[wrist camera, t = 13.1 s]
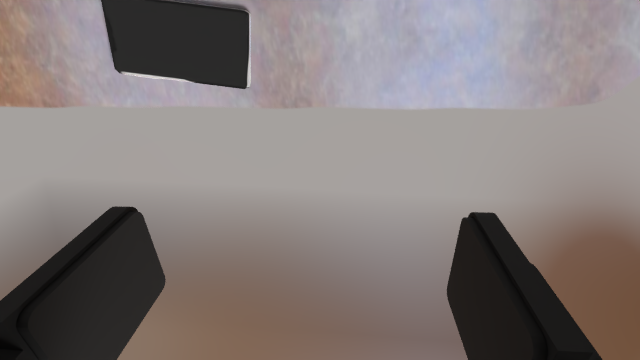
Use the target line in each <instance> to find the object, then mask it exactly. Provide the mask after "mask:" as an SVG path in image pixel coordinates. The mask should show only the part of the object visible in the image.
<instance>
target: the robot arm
mask: <svg viewBox="0 0 640 360" xmlns="http://www.w3.org/2000/svg"><path fill="white" fill-rule="evenodd" d="M164 285H165V275H164V273H163V270H162V267H161V265H160V262H159V259H158V256H157V253H156V251H155V248H154V245H153V242H152V239H151V236H150V234H149V232H148V228H147V225H146V223H145V220H144V217H143V215H142V214H141V213H140V212H138V211H137V209H136V208H134V207H112V208H110V209H109V210H107V211H106V212H105V213H104V214H103V215H101V216H100V217H99V218H98V219H97V220H95V221H94V222H93V223H92V224H91V225H90V226H88V227H87V228H86V229H85V230H84V231H83V232H81V233H80V234H79V235H78V236H77V237H75V238H74V239H73V240H72V241H71V242H69V243H68V244H67V245H66V246H65V247H64V248H62V249H61V250H60V251H59V252H58V253H56V254H55V255H54V256H53V257H52V258H51V259H49V260H48V261H47V262H46V263H44V264H43V265H42V266H41V267H40V268H39V269H38V270H36V271H35V272H34V273H33V274H31V275H30V276H29V277H28V278H27V279H26V280H24V281H23V282H22V283H21V284H20V285H18V286H17V287H16V288H15V289H14V290H13V291H11V292H10V293H9V294H8V295H7V296H5V297H4V298H3V299H2V300H1V301H0V360H117V358H118V357H119V355H120V354H121V352H122V351H123V349H124V348H125V346H126V345H127V343H128V342H129V340H130V339H131V337H132V336H133V334H134V333H135V331H136V329H137V328H138V326H139V325H140V323H141V322H142V320H143V319H144V317H145V316H146V314H147V313H148V311H149V309H150V308H151V307H152V305H153V303H154V302H155V300H156V299H157V298H158V296H159V295H160V293H161V292H162V290H163V288H164ZM447 297H448V301H449V304H450V307H451V310H452V313H453V316H454V319H455V322H456V325H457V328H458V331H459V334H460V337H461V340H462V342H463V346H464V349H465V351H466V355H467V358H468V360H602V358H601V357H600V356H599V354H598V353H597V351H596V350H595V349H594V347H593V346H592V345H591V343H590V342H589V340H588V339H587V338H586V336H585V335H584V333H583V332H582V331H581V329H580V328H579V326H578V325H577V324H576V322H575V321H574V319H573V318H572V317H571V315H570V314H569V312H568V311H567V310H566V308H565V307H564V305H563V304H562V303H561V301H560V300H559V298H558V297H557V296H556V294H555V293H554V292H553V290H552V289H551V287H550V286H549V285H548V283H547V282H546V280H545V279H544V278H543V276H542V275H541V273H540V272H539V271H538V269H537V268H536V267H535V266H534V265H533V264H531V263H530V262H529V261H528V259H527V258H526V257H525V255H524V254H523V252H522V251H521V250H520V248H519V247H518V245H517V244H516V242H515V241H514V240H513V238H512V237H511V235H510V234H509V232H508V231H507V230H506V228H505V227H504V226H503V224H502V223H501V221H500V220H499V218H498V217H497V215H496V214H494V213H478V212H472V213H470V215H469V216H468V218H463V219H462V221H461V225H460V230H459V235H458V239H457V244H456V249H455V253H454V258H453V263H452V267H451V272H450V276H449V281H448V286H447Z"/></svg>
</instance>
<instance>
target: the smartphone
mask: <svg viewBox="0 0 640 360" xmlns="http://www.w3.org/2000/svg"><path fill="white" fill-rule="evenodd" d="M101 2H102V7H103V12H104V17H105V22H106V27H107V32H108V37H109V42H110V47H111V52H112V57H113V62H114V67H115V69H116V70H117V71H118V72H119V73H121V74H126V75H133V76H135V75H136V76H138V77H146V78H154V79H169V80H177V81H185V82H193V83H201V84H209V85H217V86H225V87H233V88H241V89H246V88H249V87H250V85H251V14H250V13H249V12H248V11H246V10H242V9H234V8H226V7H218V6H210V5H202V4H194V3H186V2H178V1H170V0H101Z"/></svg>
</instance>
